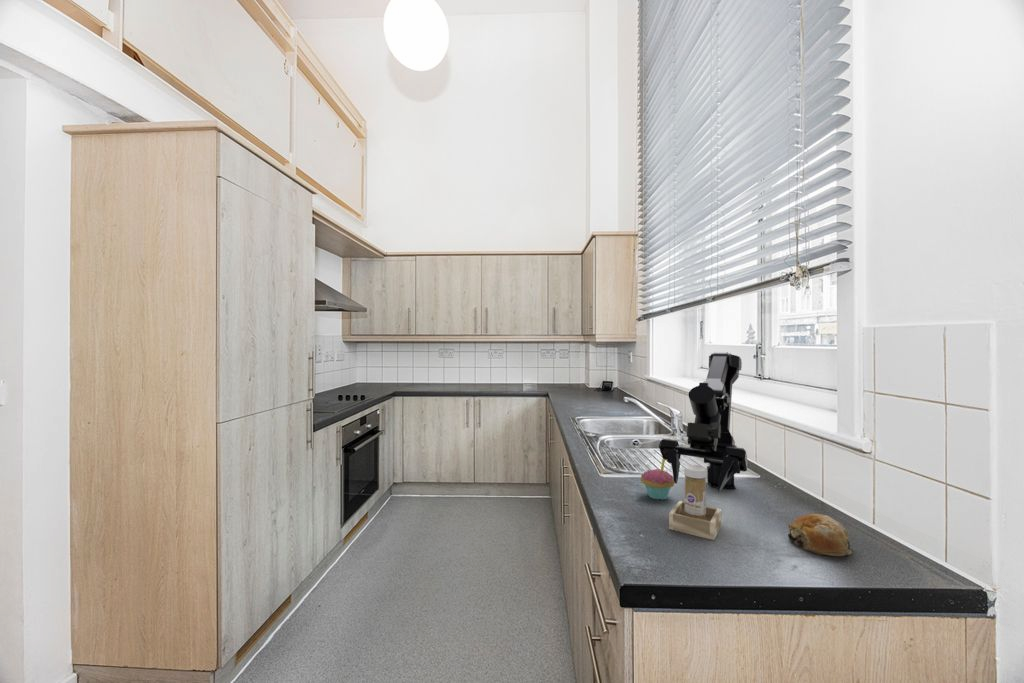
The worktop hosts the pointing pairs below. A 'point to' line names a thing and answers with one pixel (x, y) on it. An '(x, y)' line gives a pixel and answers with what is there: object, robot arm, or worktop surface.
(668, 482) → the cupcake
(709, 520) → the box
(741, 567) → the worktop surface
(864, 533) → the worktop surface
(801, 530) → the bread roll
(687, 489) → the sprinkles bottle
